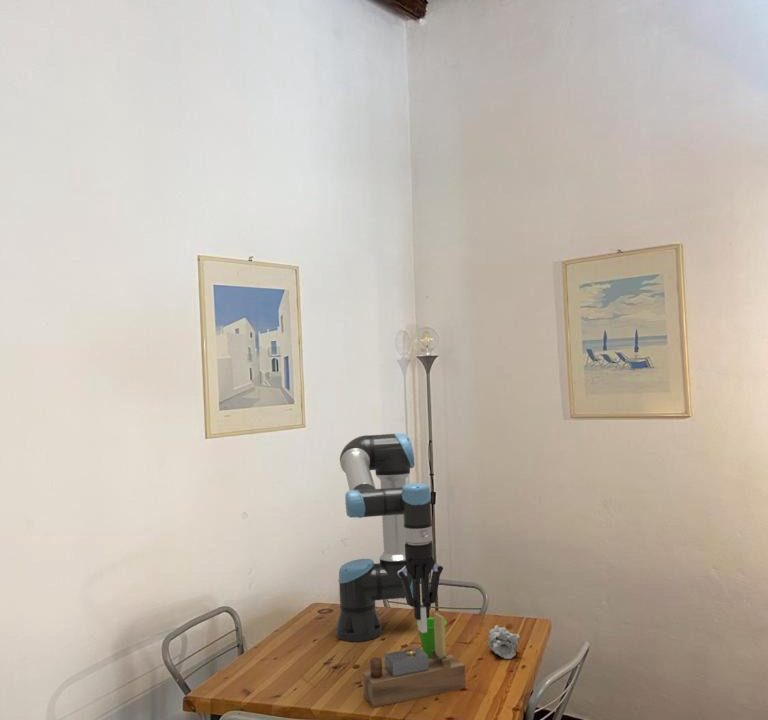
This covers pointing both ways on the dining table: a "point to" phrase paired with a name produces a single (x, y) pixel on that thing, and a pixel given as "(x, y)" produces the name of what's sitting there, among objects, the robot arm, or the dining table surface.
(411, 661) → the lever cap
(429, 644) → the cup
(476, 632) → the dining table surface
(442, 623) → the lever
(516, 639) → the figurine
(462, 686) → the plane body
